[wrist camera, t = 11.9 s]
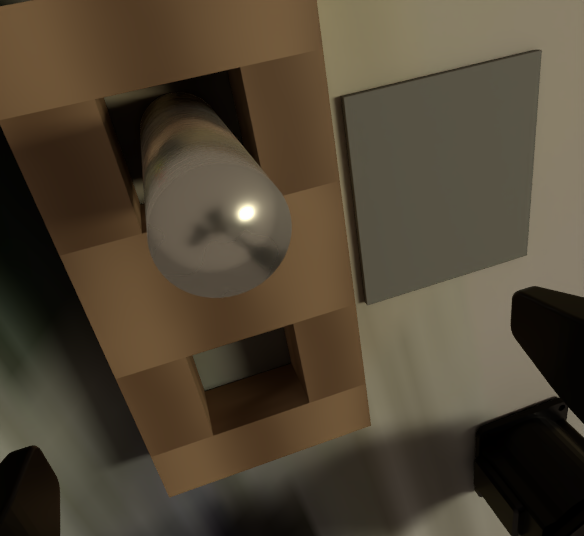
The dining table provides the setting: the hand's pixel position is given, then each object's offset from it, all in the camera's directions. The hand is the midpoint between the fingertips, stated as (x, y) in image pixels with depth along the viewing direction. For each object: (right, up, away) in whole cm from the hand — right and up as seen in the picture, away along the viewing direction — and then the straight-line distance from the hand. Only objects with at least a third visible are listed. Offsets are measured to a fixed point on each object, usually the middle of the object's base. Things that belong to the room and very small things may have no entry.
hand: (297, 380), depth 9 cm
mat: (+7, +6, +14) cm, 17 cm away
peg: (-4, +7, +10) cm, 13 cm away
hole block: (-3, +3, +12) cm, 13 cm away
